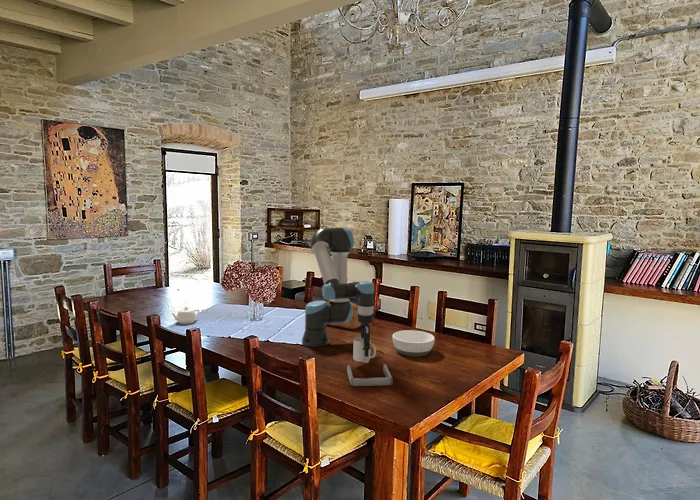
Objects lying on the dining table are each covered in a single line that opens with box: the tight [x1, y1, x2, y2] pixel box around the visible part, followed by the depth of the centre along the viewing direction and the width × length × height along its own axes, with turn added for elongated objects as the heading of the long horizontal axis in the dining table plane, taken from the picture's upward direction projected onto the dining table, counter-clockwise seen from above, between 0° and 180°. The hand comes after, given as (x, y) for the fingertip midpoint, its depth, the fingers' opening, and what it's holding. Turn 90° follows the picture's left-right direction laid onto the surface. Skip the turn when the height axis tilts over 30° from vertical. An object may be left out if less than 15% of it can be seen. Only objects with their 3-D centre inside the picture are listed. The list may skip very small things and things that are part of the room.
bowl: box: [392, 329, 435, 358], centre depth 247 cm, size 22×22×8 cm
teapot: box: [171, 306, 200, 325], centre depth 294 cm, size 20×12×10 cm, turn 142°
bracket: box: [346, 364, 394, 387], centre depth 209 cm, size 18×17×3 cm
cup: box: [352, 336, 377, 363], centre depth 223 cm, size 8×12×10 cm
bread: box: [326, 301, 361, 330], centre depth 296 cm, size 14×26×15 cm, turn 59°
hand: (364, 359), depth 224 cm, fingers closed on cup, 9 cm apart
